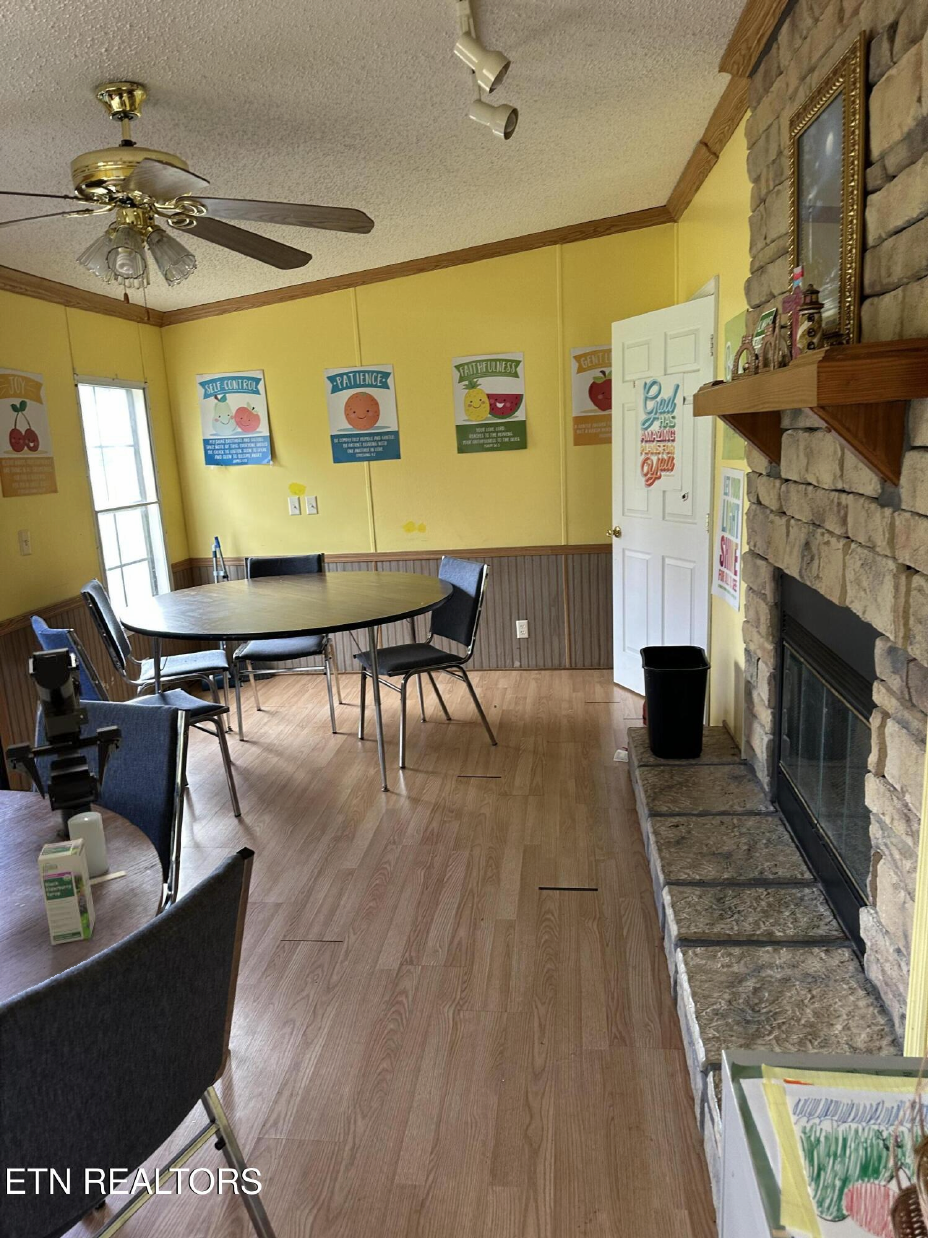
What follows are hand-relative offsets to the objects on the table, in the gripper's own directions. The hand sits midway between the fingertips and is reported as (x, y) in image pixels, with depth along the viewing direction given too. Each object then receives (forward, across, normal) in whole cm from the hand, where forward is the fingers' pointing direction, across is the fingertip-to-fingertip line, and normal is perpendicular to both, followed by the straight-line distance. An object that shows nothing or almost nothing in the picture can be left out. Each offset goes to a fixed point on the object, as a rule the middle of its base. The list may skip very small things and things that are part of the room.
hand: (73, 792), depth 147 cm
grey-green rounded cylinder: (+12, +1, +9) cm, 15 cm away
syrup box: (+25, -3, -6) cm, 26 cm away
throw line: (+15, +1, +5) cm, 16 cm away
